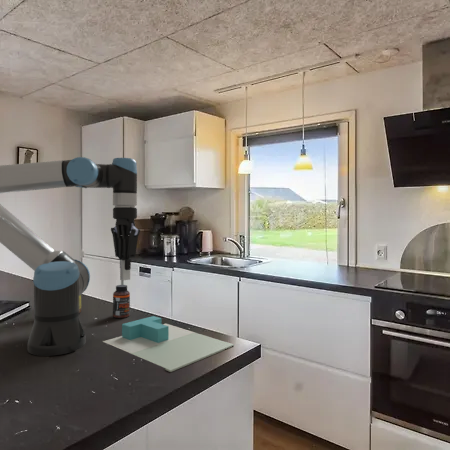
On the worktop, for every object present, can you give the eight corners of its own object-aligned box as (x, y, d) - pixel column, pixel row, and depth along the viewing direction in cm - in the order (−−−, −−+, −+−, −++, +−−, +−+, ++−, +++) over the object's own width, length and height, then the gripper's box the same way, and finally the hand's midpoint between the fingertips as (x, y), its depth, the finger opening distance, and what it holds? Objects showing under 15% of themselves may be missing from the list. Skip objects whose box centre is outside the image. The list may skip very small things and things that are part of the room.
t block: (146, 346, 108) (146, 332, 108) (122, 337, 116) (122, 324, 116) (178, 336, 118) (178, 323, 117) (153, 328, 125) (153, 316, 125)
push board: (170, 372, 93) (170, 370, 93) (102, 343, 112) (102, 341, 112) (233, 346, 111) (233, 344, 111) (165, 324, 131) (165, 323, 131)
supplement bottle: (119, 319, 136) (119, 288, 136) (109, 316, 140) (109, 285, 140) (133, 316, 141) (133, 285, 141) (122, 313, 145) (122, 283, 144)
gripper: (147, 206, 122) (147, 280, 123) (123, 206, 131) (123, 275, 132) (127, 206, 117) (127, 283, 118) (103, 206, 125) (103, 278, 126)
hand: (125, 279), depth 125 cm, fingers closed
